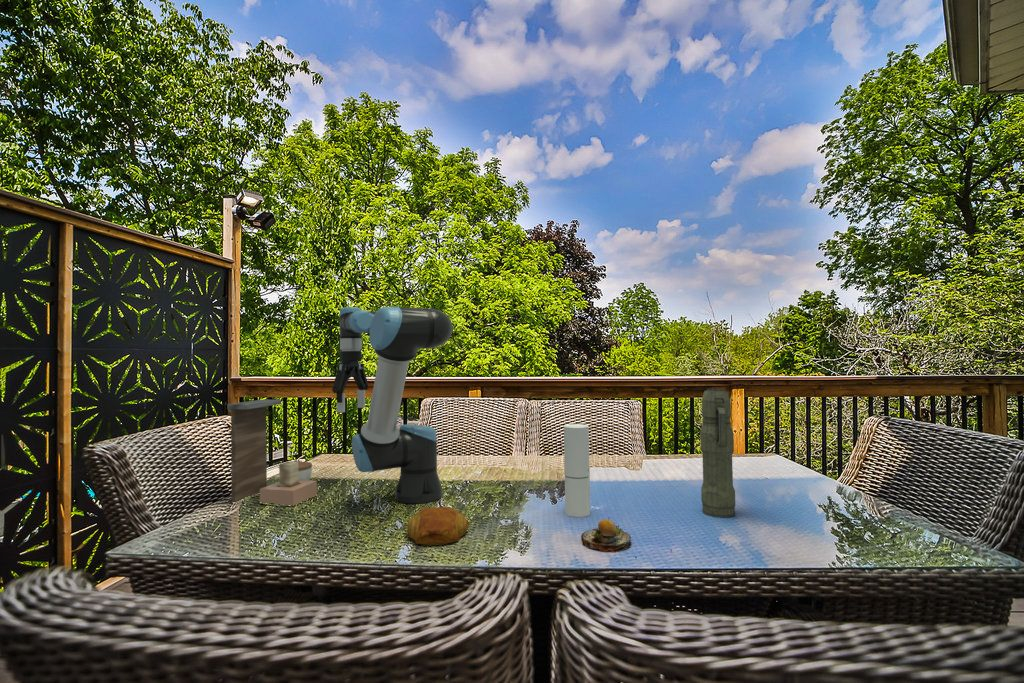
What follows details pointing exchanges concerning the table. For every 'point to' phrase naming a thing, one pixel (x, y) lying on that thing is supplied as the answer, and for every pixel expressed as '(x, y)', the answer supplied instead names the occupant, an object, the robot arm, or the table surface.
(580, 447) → the cylindrical container
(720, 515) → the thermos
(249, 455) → the capped wooden panel
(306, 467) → the lidded jar
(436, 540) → the croissant
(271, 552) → the table surface
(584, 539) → the wood slice egg decoration
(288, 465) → the peg
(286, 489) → the socket block
